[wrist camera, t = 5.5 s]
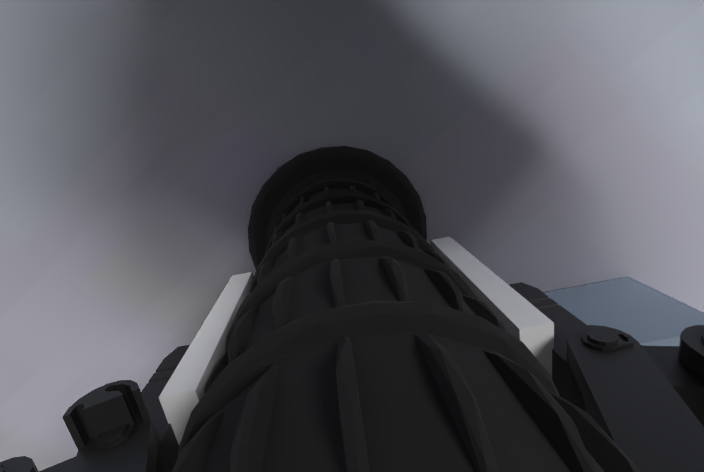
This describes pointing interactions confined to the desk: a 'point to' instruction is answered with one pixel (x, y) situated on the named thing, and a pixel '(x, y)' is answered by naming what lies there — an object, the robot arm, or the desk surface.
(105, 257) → the desk surface
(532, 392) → the handle grip
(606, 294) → the box
